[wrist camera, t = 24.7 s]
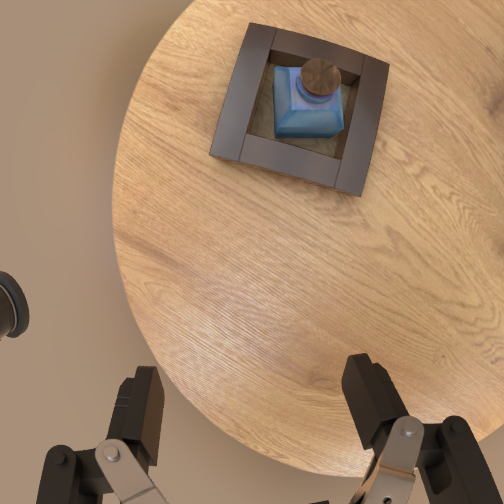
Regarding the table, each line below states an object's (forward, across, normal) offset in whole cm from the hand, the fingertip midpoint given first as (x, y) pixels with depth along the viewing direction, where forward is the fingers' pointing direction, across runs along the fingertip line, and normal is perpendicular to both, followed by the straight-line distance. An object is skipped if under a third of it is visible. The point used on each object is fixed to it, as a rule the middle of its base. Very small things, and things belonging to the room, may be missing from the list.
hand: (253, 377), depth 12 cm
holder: (+26, -8, -10) cm, 29 cm away
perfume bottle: (+26, -8, -10) cm, 29 cm away
